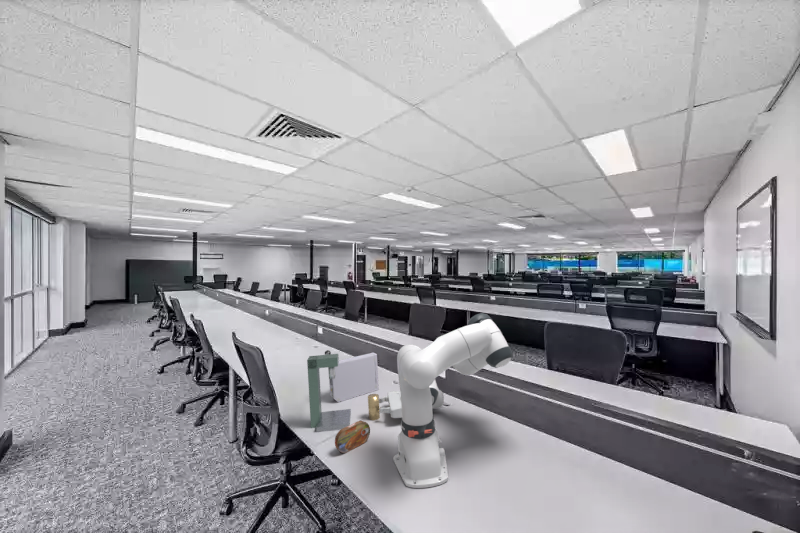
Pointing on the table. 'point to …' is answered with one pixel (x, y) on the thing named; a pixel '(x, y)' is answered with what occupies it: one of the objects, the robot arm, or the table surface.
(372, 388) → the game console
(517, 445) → the table surface
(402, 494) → the table surface
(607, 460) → the table surface
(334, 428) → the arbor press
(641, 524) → the table surface
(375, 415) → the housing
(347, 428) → the tin
